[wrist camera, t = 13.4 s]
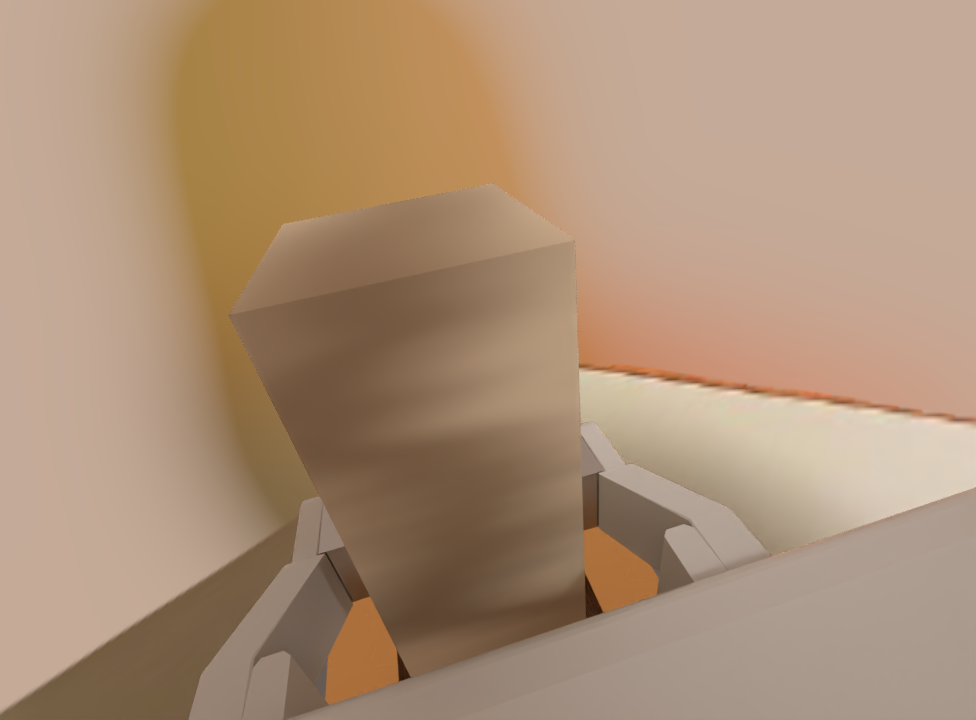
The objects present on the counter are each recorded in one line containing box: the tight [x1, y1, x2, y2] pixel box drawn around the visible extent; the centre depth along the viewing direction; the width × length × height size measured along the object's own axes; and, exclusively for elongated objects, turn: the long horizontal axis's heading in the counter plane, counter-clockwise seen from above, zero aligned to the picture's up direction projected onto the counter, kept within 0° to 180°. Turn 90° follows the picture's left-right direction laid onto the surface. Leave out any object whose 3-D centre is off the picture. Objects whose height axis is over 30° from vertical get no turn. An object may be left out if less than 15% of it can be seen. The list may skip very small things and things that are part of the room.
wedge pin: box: [229, 184, 586, 677], centre depth 11 cm, size 4×4×14 cm
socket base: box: [314, 526, 660, 705], centre depth 14 cm, size 16×14×6 cm
